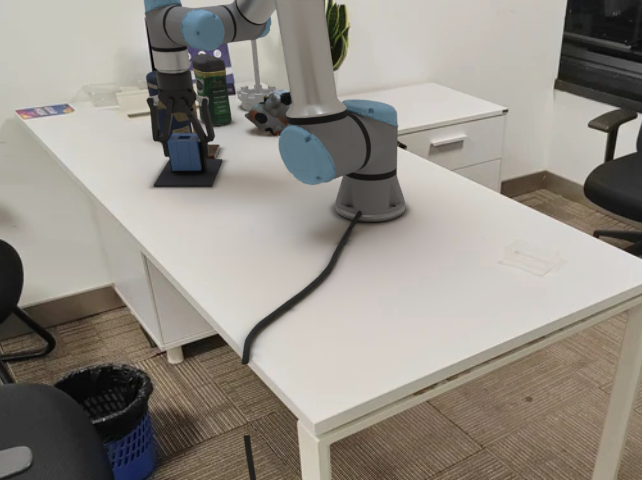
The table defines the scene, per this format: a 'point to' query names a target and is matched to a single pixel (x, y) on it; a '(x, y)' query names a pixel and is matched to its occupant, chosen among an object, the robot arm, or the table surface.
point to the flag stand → (257, 93)
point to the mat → (189, 176)
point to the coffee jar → (212, 87)
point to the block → (184, 152)
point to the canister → (179, 119)
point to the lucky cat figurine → (271, 112)
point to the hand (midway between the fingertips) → (189, 169)
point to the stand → (212, 147)
